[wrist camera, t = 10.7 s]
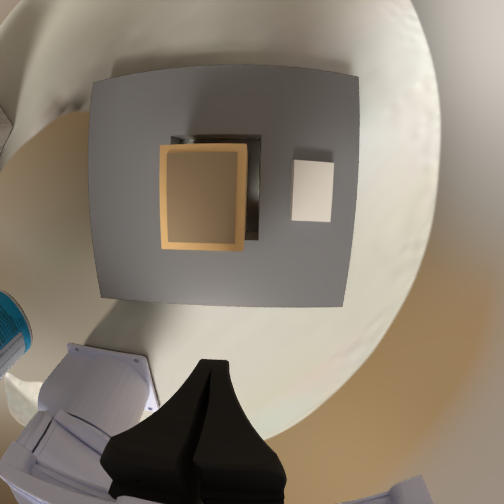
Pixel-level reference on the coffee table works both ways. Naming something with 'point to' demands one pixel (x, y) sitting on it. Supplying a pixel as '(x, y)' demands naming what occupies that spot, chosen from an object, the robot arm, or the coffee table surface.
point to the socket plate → (270, 183)
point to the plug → (203, 196)
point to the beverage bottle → (12, 332)
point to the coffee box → (4, 128)
